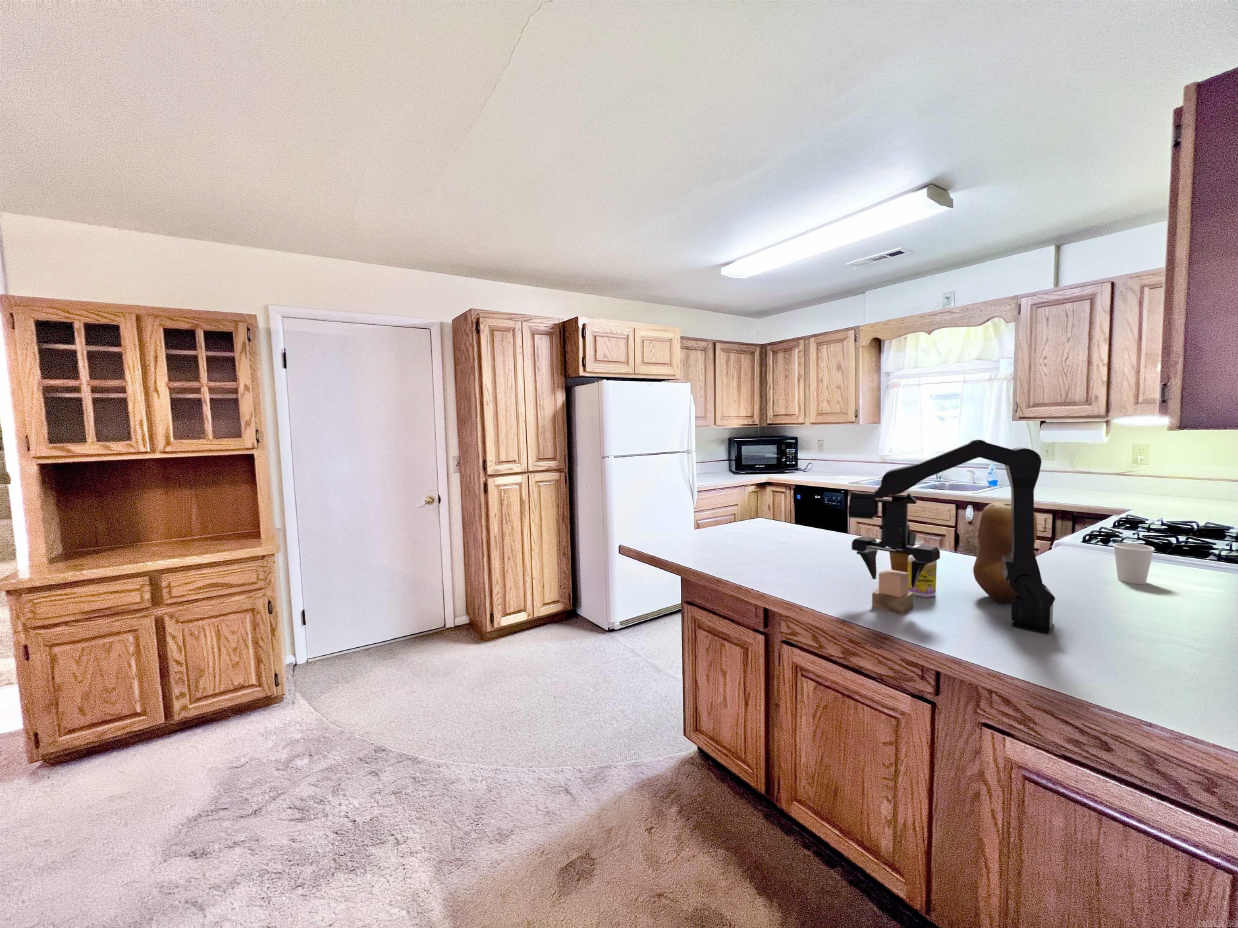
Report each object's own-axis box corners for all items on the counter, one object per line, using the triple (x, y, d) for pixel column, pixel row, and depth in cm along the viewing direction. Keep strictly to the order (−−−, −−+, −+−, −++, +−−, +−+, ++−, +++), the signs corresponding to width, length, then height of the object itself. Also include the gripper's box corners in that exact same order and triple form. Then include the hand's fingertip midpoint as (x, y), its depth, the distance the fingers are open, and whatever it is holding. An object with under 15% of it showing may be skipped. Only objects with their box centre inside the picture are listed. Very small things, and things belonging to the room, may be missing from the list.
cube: (900, 597, 124) (900, 576, 124) (878, 592, 128) (878, 573, 128) (908, 592, 128) (908, 572, 127) (887, 588, 131) (887, 569, 131)
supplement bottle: (907, 595, 136) (908, 548, 136) (906, 588, 142) (907, 542, 141) (936, 599, 133) (938, 550, 133) (935, 591, 139) (935, 545, 138)
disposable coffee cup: (879, 580, 151) (879, 539, 150) (901, 575, 155) (901, 536, 154) (909, 588, 142) (910, 546, 141) (931, 583, 146) (932, 542, 145)
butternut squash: (1047, 612, 123) (1051, 508, 121) (981, 606, 127) (984, 506, 126) (1023, 594, 136) (1026, 500, 134) (964, 589, 140) (966, 499, 139)
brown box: (913, 608, 128) (913, 592, 128) (901, 615, 123) (902, 599, 123) (883, 601, 133) (884, 586, 133) (872, 608, 129) (872, 592, 128)
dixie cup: (1103, 576, 149) (1104, 542, 149) (1132, 576, 149) (1134, 542, 148) (1130, 585, 141) (1132, 549, 140) (1162, 585, 141) (1164, 549, 140)
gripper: (948, 520, 125) (947, 583, 126) (869, 512, 139) (869, 569, 140) (932, 527, 118) (930, 594, 119) (850, 517, 132) (850, 577, 133)
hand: (893, 582), depth 128 cm, fingers open, 9 cm apart
